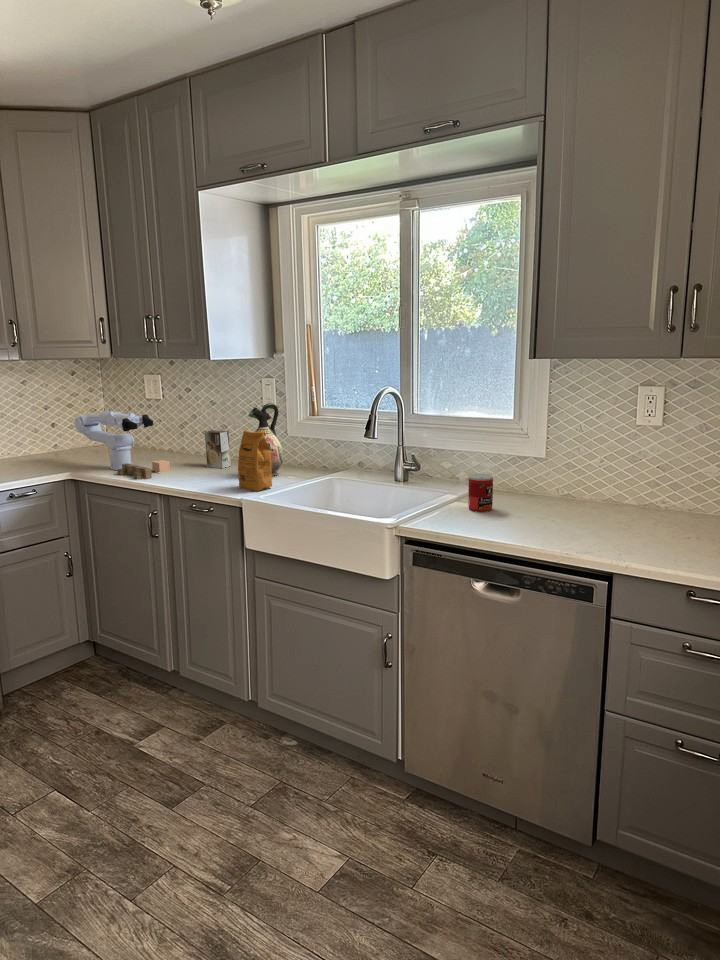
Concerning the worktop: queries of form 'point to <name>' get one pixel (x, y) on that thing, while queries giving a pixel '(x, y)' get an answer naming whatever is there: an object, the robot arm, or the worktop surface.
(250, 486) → the coffee package
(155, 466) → the terracotta block
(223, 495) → the worktop surface
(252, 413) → the ceramic jug
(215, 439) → the coffee box
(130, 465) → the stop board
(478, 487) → the canned food
